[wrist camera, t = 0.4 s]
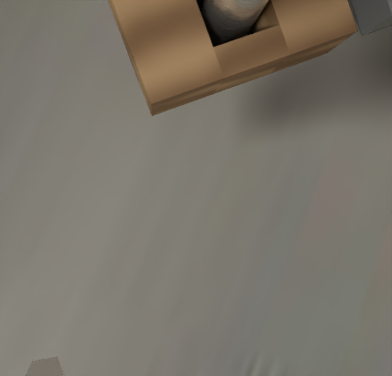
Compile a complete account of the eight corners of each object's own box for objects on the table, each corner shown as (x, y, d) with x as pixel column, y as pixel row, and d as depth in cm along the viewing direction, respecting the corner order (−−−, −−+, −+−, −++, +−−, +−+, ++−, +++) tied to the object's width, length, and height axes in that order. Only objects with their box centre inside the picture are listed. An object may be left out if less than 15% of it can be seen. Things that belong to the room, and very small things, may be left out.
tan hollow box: (108, 2, 36) (99, -32, 30) (289, -56, 38) (314, -99, 32) (151, 115, 37) (151, 103, 31) (326, 53, 39) (357, 30, 33)
